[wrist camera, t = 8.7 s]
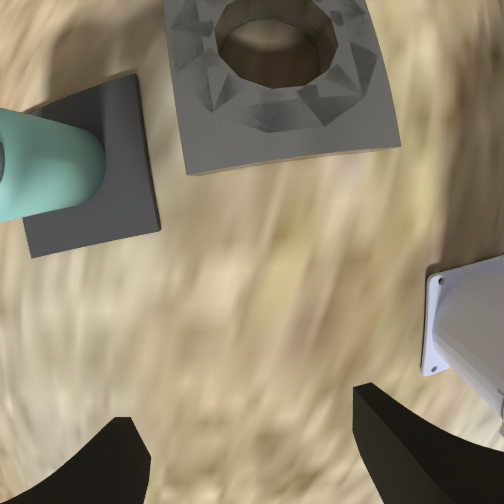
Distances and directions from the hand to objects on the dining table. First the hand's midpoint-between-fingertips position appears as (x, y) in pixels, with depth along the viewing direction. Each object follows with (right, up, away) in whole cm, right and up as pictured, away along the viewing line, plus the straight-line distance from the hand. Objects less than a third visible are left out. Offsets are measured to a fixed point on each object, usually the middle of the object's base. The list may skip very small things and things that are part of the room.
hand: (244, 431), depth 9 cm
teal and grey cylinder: (-10, +10, +7) cm, 16 cm away
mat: (-10, +10, +7) cm, 16 cm away
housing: (+1, +16, +7) cm, 18 cm away
